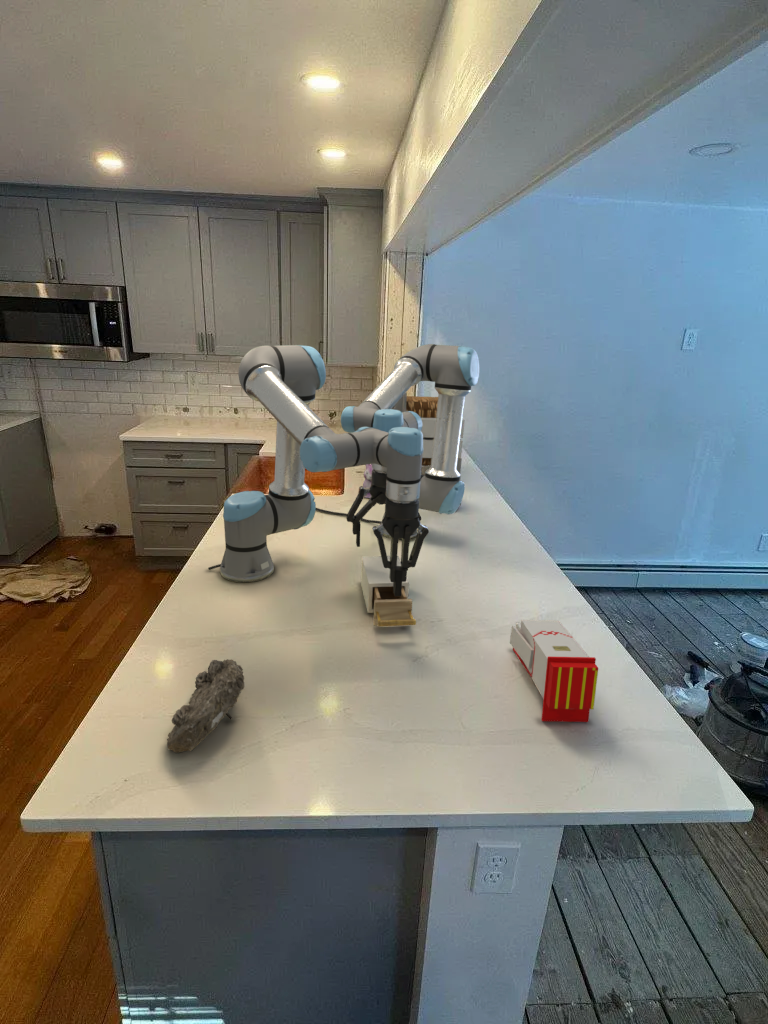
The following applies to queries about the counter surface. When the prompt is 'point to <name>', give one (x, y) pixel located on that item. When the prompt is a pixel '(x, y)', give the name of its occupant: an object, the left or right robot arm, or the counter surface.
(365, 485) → the figurine
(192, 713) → the fossil
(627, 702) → the counter surface
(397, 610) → the drawer
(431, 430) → the white slatted crate
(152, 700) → the counter surface
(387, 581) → the cabinet
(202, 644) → the counter surface
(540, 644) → the toy
